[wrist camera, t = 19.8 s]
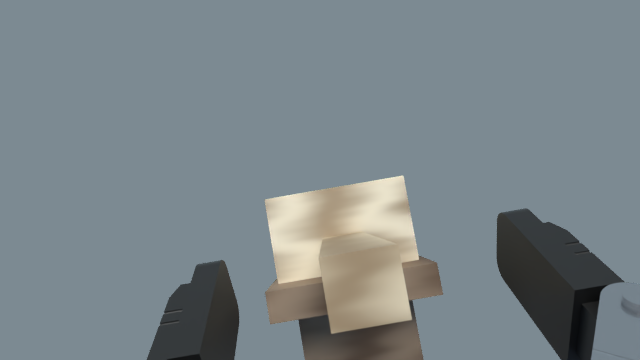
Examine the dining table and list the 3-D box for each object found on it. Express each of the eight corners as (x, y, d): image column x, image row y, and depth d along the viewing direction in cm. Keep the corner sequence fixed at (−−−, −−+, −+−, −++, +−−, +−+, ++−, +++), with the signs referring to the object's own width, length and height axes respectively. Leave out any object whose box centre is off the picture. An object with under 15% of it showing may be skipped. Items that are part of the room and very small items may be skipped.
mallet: (404, 253, 37) (391, 182, 38) (516, 302, 15) (480, 131, 16) (286, 273, 37) (274, 202, 38) (227, 351, 15) (202, 179, 16)
